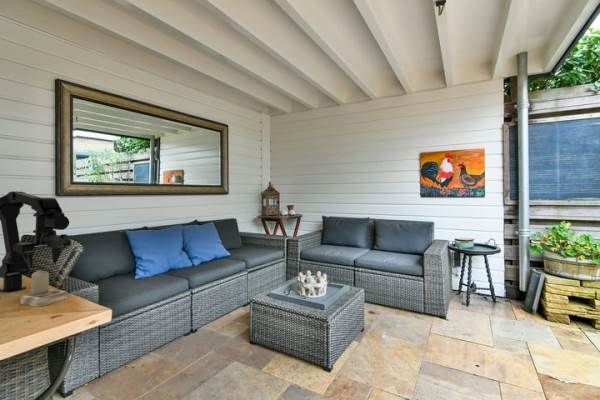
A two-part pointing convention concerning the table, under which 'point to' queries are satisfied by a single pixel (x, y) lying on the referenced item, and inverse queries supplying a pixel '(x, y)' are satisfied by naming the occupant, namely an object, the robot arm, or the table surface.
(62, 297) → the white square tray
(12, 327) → the table surface
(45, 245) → the robot arm
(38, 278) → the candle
